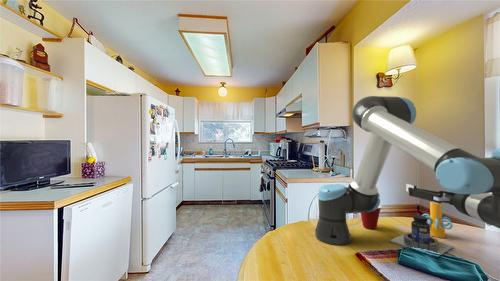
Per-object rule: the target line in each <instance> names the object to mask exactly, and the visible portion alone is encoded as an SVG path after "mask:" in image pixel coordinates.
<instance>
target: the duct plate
mask: <svg viewBox="0 0 500 281" xmlns="http://www.w3.org/2000/svg"><path fill="white" fill-rule="evenodd" d="M389 242H391V243H392V244H396V245H398V246H401V247H404V248H406V247H414V248H421V249H427V250H431V251H433V252H436V253H440V254H442V253H445V252H446V253H447V252H449V251H451V250H452V249H454V245H451V244H447V243H443V242H440V241H439V240H438V239H437V238H436V237H435V238H434V236H430V243H422V242H418V241H415V240H412V232H406V233H404V234H402V235H399V236H397V237H395V238H392V239H390V241H389ZM446 253H445V254H446Z"/></svg>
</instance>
